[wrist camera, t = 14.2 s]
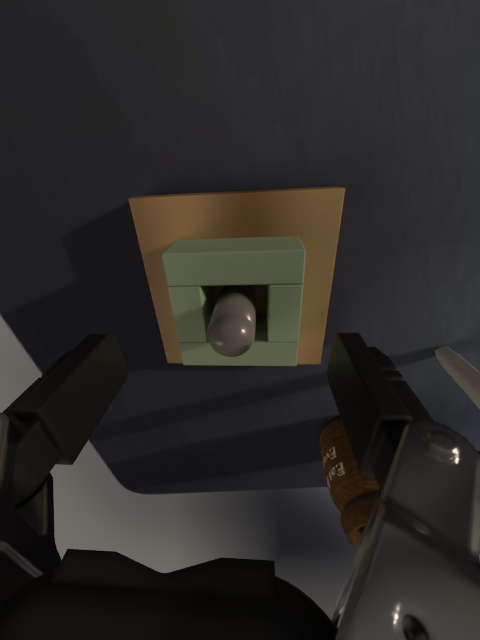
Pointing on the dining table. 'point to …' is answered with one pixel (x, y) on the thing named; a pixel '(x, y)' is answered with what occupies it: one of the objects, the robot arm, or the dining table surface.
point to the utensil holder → (346, 481)
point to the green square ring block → (237, 269)
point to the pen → (461, 372)
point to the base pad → (243, 222)
